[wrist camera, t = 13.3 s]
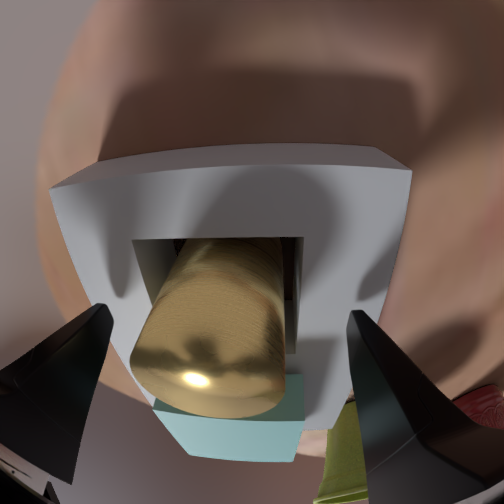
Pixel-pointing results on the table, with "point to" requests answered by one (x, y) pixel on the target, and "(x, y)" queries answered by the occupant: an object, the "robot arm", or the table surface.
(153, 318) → the brass cylinder
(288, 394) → the teal block
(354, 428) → the plant pot
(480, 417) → the canister
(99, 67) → the table surface
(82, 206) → the jig
